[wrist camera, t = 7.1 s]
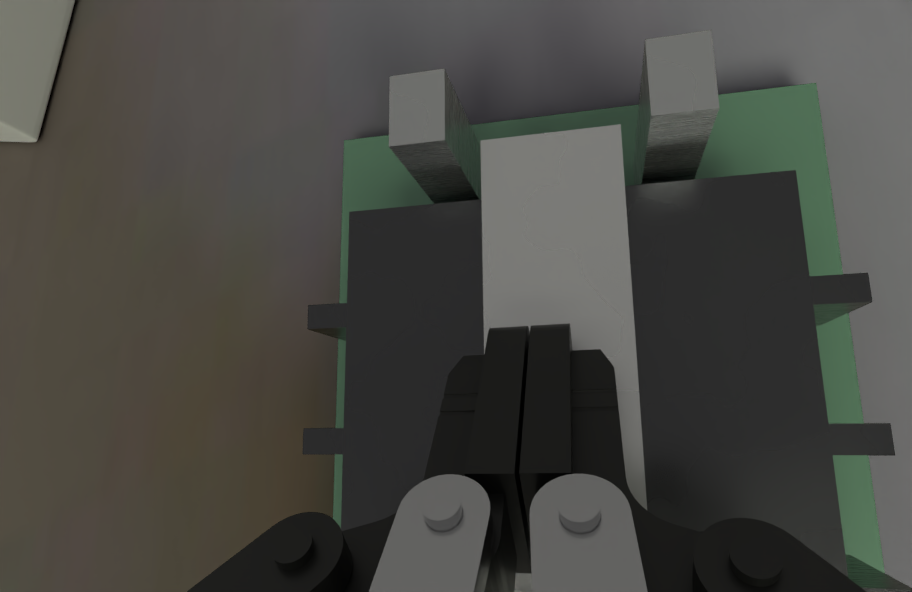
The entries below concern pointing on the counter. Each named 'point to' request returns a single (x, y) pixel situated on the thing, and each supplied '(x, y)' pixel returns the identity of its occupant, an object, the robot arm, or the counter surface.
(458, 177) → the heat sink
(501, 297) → the retention strap
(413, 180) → the circuit board
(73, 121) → the counter surface
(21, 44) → the milk carton
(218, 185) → the counter surface
